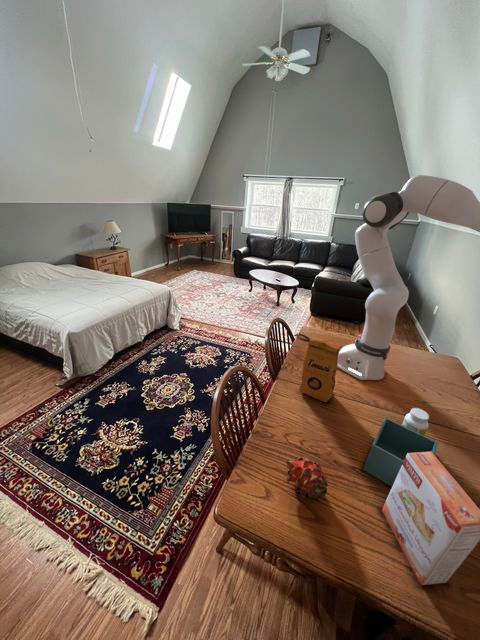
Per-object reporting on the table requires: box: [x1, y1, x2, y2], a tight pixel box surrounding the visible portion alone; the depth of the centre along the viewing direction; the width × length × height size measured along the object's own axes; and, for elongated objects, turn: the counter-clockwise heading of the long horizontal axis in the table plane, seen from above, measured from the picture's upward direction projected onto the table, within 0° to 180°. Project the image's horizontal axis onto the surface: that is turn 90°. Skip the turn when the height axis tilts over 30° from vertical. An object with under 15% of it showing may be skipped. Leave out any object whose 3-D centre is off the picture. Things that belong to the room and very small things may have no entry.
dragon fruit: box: [285, 456, 329, 501], centre depth 68 cm, size 8×8×12 cm
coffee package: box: [298, 338, 339, 403], centre depth 98 cm, size 10×12×22 cm
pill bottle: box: [401, 407, 430, 436], centre depth 82 cm, size 6×6×11 cm
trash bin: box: [362, 417, 439, 488], centre depth 73 cm, size 13×13×10 cm
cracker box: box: [381, 452, 480, 586], centre depth 54 cm, size 14×6×21 cm, turn 5°
